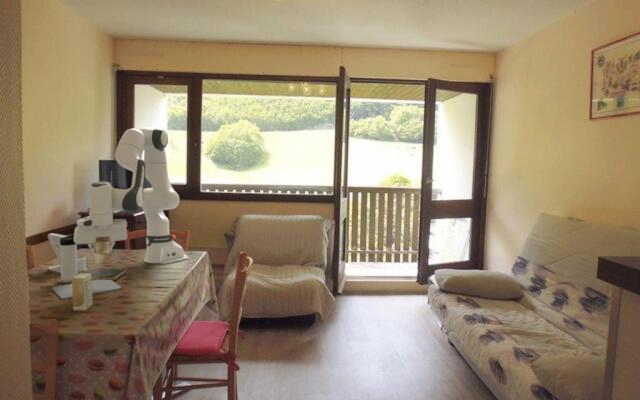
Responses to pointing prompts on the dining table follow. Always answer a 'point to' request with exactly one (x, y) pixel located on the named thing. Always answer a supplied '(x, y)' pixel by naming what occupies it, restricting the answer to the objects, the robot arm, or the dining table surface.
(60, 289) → the grey mat
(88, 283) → the skincare box
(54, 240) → the phone holder
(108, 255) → the birch block
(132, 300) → the dining table surface
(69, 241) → the travel mug
